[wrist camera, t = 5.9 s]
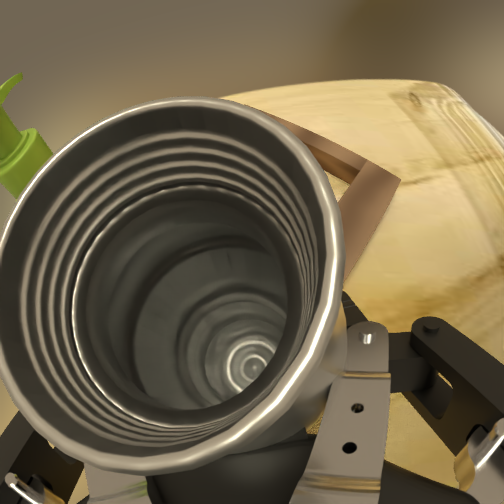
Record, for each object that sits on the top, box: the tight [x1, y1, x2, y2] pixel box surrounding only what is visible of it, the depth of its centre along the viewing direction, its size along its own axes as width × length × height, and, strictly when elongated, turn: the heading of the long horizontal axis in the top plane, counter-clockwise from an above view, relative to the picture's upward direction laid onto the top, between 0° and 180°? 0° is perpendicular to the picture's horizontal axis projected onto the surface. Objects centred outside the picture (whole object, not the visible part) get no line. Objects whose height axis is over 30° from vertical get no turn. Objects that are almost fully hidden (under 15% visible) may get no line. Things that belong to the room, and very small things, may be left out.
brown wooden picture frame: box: [245, 105, 401, 283], centre depth 26 cm, size 20×16×2 cm
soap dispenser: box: [0, 73, 53, 201], centre depth 16 cm, size 6×7×20 cm
